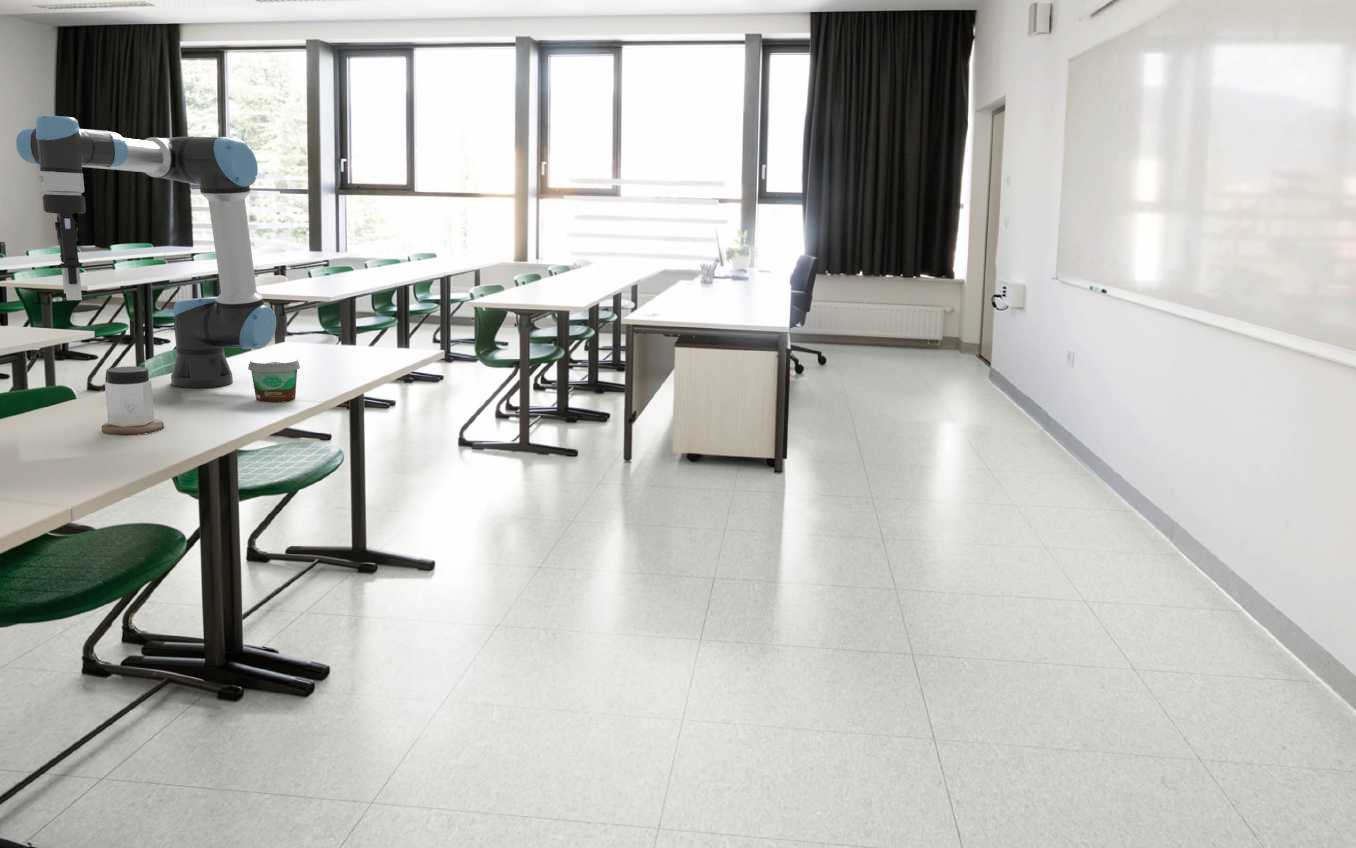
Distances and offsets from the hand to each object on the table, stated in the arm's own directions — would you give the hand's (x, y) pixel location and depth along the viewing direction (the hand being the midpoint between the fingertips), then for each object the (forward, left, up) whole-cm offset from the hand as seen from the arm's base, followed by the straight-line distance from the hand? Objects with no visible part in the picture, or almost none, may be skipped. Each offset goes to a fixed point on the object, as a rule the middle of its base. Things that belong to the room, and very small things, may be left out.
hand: (72, 296), depth 214 cm
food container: (-16, +43, -29) cm, 54 cm away
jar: (+2, +9, -28) cm, 29 cm away
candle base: (+4, +9, -29) cm, 30 cm away
